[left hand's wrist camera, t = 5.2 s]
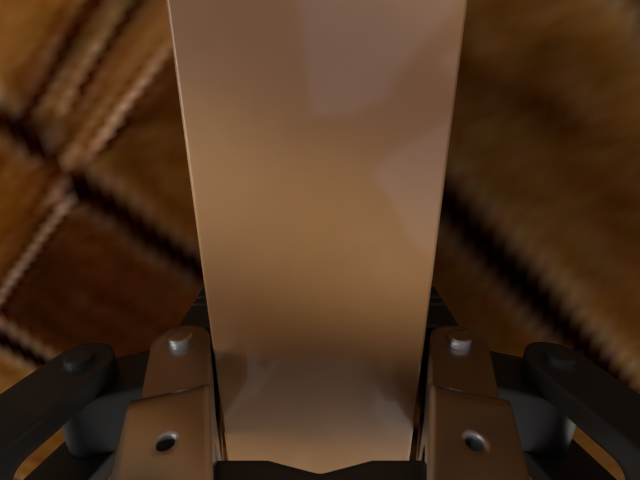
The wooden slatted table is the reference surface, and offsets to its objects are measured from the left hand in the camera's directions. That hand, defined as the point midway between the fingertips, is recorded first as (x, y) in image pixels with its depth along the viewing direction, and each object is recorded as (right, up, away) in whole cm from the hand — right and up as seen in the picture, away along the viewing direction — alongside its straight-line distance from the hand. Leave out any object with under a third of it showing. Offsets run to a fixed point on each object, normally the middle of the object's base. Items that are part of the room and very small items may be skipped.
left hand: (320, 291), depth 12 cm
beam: (0, -16, +8) cm, 18 cm away
